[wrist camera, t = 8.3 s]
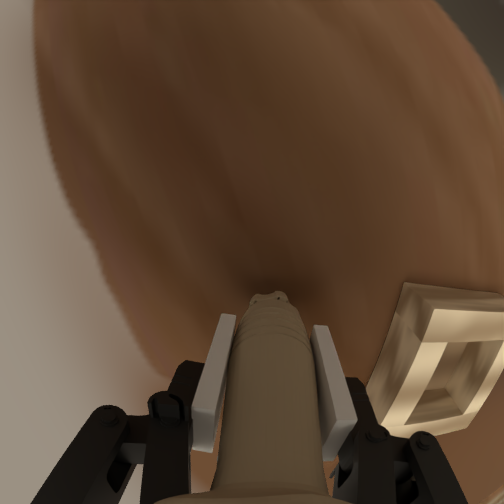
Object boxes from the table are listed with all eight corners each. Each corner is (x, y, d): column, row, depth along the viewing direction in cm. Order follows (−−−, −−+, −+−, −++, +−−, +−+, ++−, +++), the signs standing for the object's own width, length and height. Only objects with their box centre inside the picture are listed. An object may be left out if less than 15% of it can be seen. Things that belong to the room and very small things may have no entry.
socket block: (403, 282, 20) (434, 308, 15) (498, 293, 20) (528, 313, 15) (356, 408, 23) (367, 445, 18) (448, 400, 23) (466, 427, 18)
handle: (300, 353, 19) (323, 571, 4) (212, 323, 18) (134, 547, 4) (332, 295, 17) (425, 531, 3) (236, 259, 17) (144, 524, 3)
